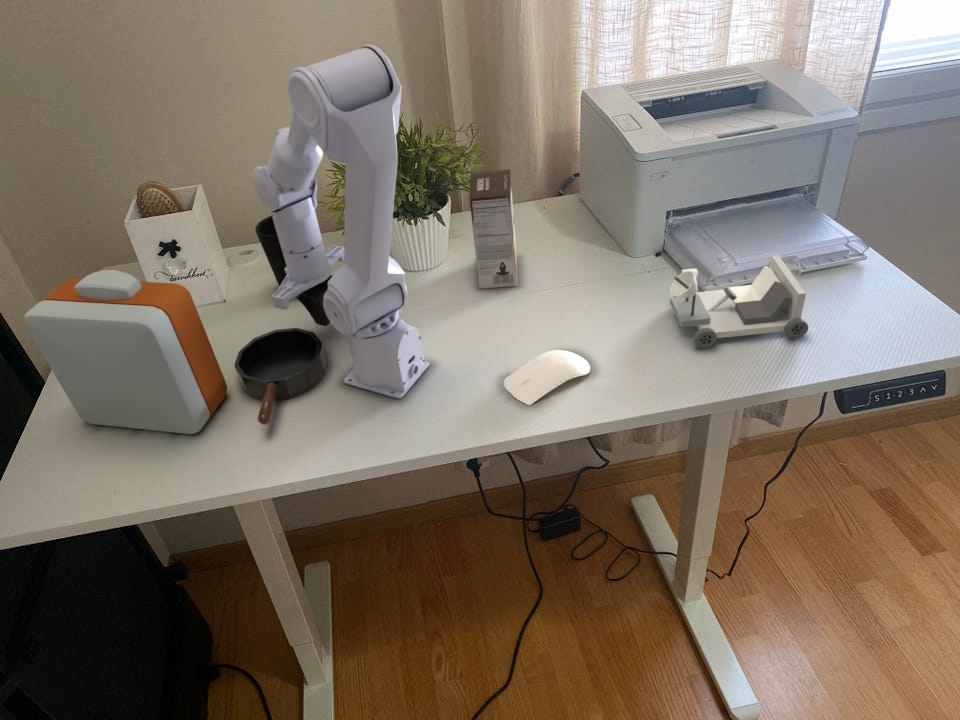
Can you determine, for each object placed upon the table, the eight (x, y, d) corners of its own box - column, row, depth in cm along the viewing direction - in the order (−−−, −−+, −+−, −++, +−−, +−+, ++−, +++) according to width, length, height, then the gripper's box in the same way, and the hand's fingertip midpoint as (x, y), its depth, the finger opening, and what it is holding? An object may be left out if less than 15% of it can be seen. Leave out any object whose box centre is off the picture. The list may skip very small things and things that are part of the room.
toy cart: (680, 291, 95) (658, 247, 104) (674, 351, 101) (654, 304, 110) (820, 277, 94) (786, 233, 103) (806, 338, 100) (775, 292, 110)
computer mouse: (497, 381, 99) (496, 368, 98) (568, 348, 104) (568, 334, 102) (526, 408, 94) (525, 395, 93) (599, 372, 99) (599, 358, 97)
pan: (251, 351, 110) (244, 332, 108) (331, 343, 110) (325, 324, 108) (222, 443, 95) (214, 423, 92) (315, 433, 95) (308, 413, 92)
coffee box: (479, 260, 125) (469, 171, 115) (516, 257, 124) (510, 167, 114) (478, 289, 117) (468, 197, 107) (518, 287, 117) (512, 194, 107)
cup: (311, 301, 119) (292, 236, 112) (267, 300, 121) (246, 235, 113) (327, 276, 125) (311, 212, 118) (286, 275, 127) (267, 212, 119)
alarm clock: (233, 393, 102) (182, 267, 90) (201, 437, 96) (142, 307, 83) (119, 383, 107) (55, 261, 94) (81, 425, 100) (7, 299, 87)
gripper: (310, 215, 109) (330, 292, 117) (245, 264, 99) (272, 344, 107) (349, 222, 106) (367, 300, 114) (286, 273, 96) (310, 355, 104)
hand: (323, 322), depth 111 cm, fingers closed
